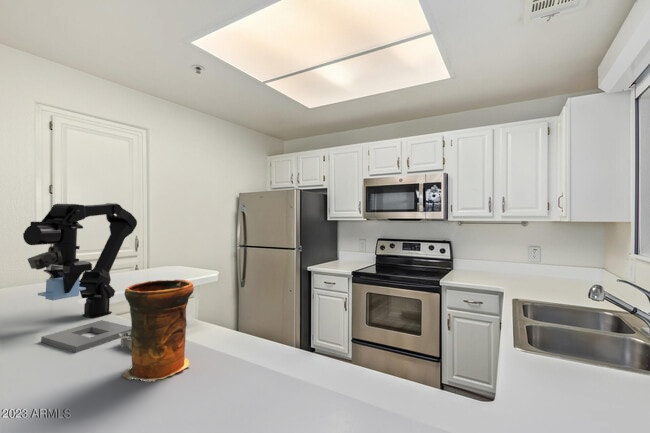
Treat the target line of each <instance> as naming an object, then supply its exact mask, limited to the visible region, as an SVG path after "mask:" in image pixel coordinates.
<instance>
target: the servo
mask: <svg viewBox="0 0 650 433" xmlns="http://www.w3.org/2000/svg"><path fill="white" fill-rule="evenodd" d="M80 280H81V276H80V277H79V278H78V279H77V281H76V283H75V284H74V286H73V287H72V289H71V291H70V292H69V293H65V291H64V283H63V277H61V278H54V279H52V278H48V279H46V281H45V291H42V292H37V296H41V297H43V298H44V297H45V298H44V299H45V300H49V301H58V300H63V299H69V298H72V297H80V290H86V288H84V287H79V283H80V282H79V281H80Z"/></svg>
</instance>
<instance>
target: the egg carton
mask: <svg viewBox="0 0 650 433" xmlns="http://www.w3.org/2000/svg"><path fill="white" fill-rule="evenodd" d="M119 335H120V336H121V339H120V347H121V348H125V347H128V349H129V350H131V331H130V332H125V333H123V334H119Z"/></svg>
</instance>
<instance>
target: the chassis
mask: <svg viewBox="0 0 650 433" xmlns="http://www.w3.org/2000/svg"><path fill="white" fill-rule="evenodd" d="M131 328H132V326H130V325H126V324H125V325H124V324H119V323H115V322H111V321H107V320H103V319H101V320H97V321H94V322H91V323H89V322H88V323H86V324H82V325H79V326H76V327H72V328H68V329H65V330H61V331H58V332H53V333H50V334H46V335H42V336H40V337H41V341H40V342H41V343H43V344H47V345H50V346H53V347H57V348H59V349H63V350H66V351H70V352H73V353H79V352H83V351H85V350H88V349H91V348H94V347H97V346H100V345H103V344H105V343H108V342H112V341H114V340H117V339H120V338H122V337H121V336H120V335H119V334H123V333H125V332H130V331H131ZM88 333H95V334H96V335H93V336H90V337H88V336H85V335H84V334H88Z"/></svg>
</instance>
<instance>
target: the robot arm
mask: <svg viewBox="0 0 650 433" xmlns="http://www.w3.org/2000/svg"><path fill="white" fill-rule="evenodd" d="M95 216H96V217H97V216H106V217H105V218H106V220H107V223H109V227H108V228H109V232H110V235H108V236H109V237H108V239H107V241H106V242H105V245H104V247H103V248H102V250H101V252H100V255H99V257H98V259H97V261H96V262H95V265H94V267H93V263H91V262H90V261H88V260H87V261H86V260H80V259H79V258H77V250H80V249H81V248H80V245H78V244H77V242H78V241H77V240H78V239H77V238H78V229H80V230H81V229H84V226H83V225H82V224H80V222H79V221H83V220H84V219H86V218H88V217H89V218H90V217H95ZM137 225H138V220H137V218H135V216H134V215H133V214H132V213H131V212H130V211H128V210H126V209H124V208H123V207H122V206H121V205H120V204H118V203H116V202H115V203H110V202H107V203H101V204H87V205H86V204H85V205H84V204H76V203H55V204H53V205H52V206H51V208H50V210H49V211H48V213H46V215H45V216H44V218H42V219H41V221H30V225H29V226H27V227H26V229H25V230H24V232H23V234H22V237H23V240H24V243H26V244H27V245H30V246H39V245H40V246H42V245H50V246H49V247H48V248H47V249H48V250H47V251H45V252H42V253H40V254H37V255H33V256H31V257H28V258H27V261H28V264H29V266H30V268H31V269H32V270H37V271H38V270H42V269H43V271H42V272H44V273H46V274H48V275H49V276H50V277H51V278H50V279H54V278H61V277H63V283H64V291H65V293H69V292H70V291H71V289H72V287H73V286H74V284H75V283H76V281H77V279H78V278H79V277H80V281H79V287H84V288H86V290H80V291H79V294H80V296H81V298H82V299H85V303H84V307H83V308H84V310H83V312H84V313H82V316H83V317H88V318H92V319H96V318H99V317H102V316H107V315H109V314H110V315H111V314H113V311H110V300H111V299H112V298H113V297H114V296H115V292H116V290H115V289H114V288H113V287H112V286H111V282H112V281H111V280H112V279H111V275H110V274H111V269H112V267H113V265H114V263H115V261H116V258H117V257H118V254H119V251H120V250H121V247H122V245H123V243H124V241H125V239H126V238H127V237H128V236H130V235H131V234H133V232H135V229H136V227H137ZM51 245H52V246H51ZM81 275H82V276H81Z"/></svg>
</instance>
